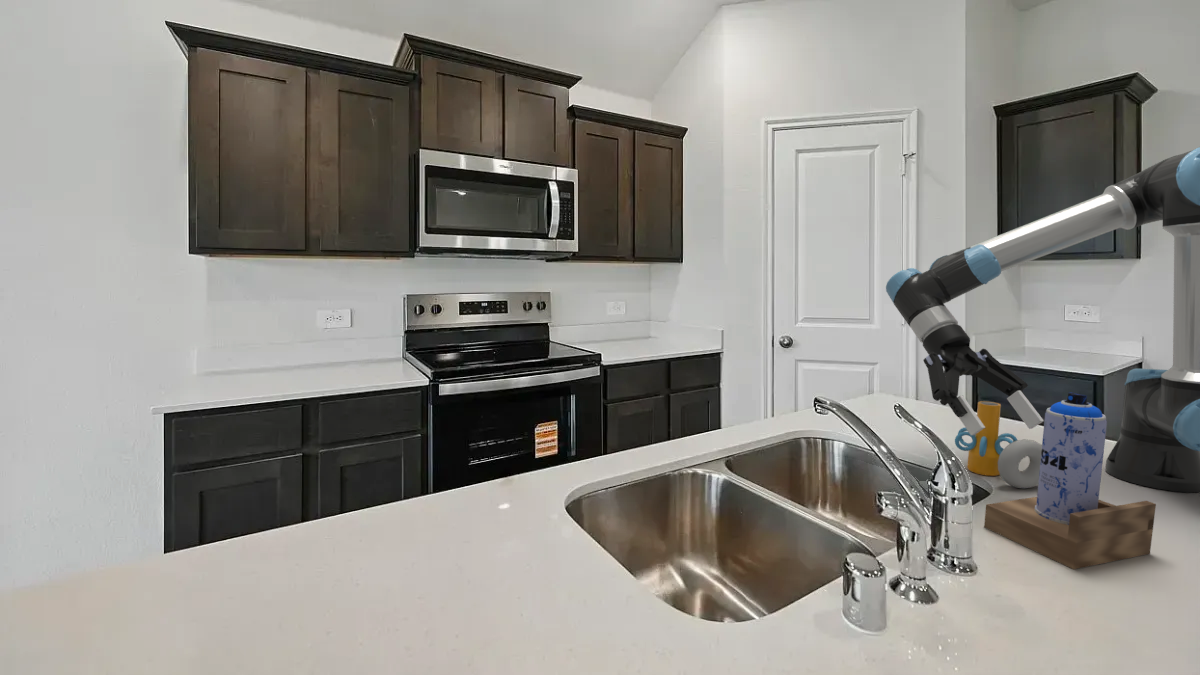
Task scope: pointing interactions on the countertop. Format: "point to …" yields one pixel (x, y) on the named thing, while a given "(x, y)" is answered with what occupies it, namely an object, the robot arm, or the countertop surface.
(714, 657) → the countertop surface
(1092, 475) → the aerosol can
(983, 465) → the cylinder
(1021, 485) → the donut
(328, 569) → the countertop surface
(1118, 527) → the shelf step
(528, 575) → the countertop surface
